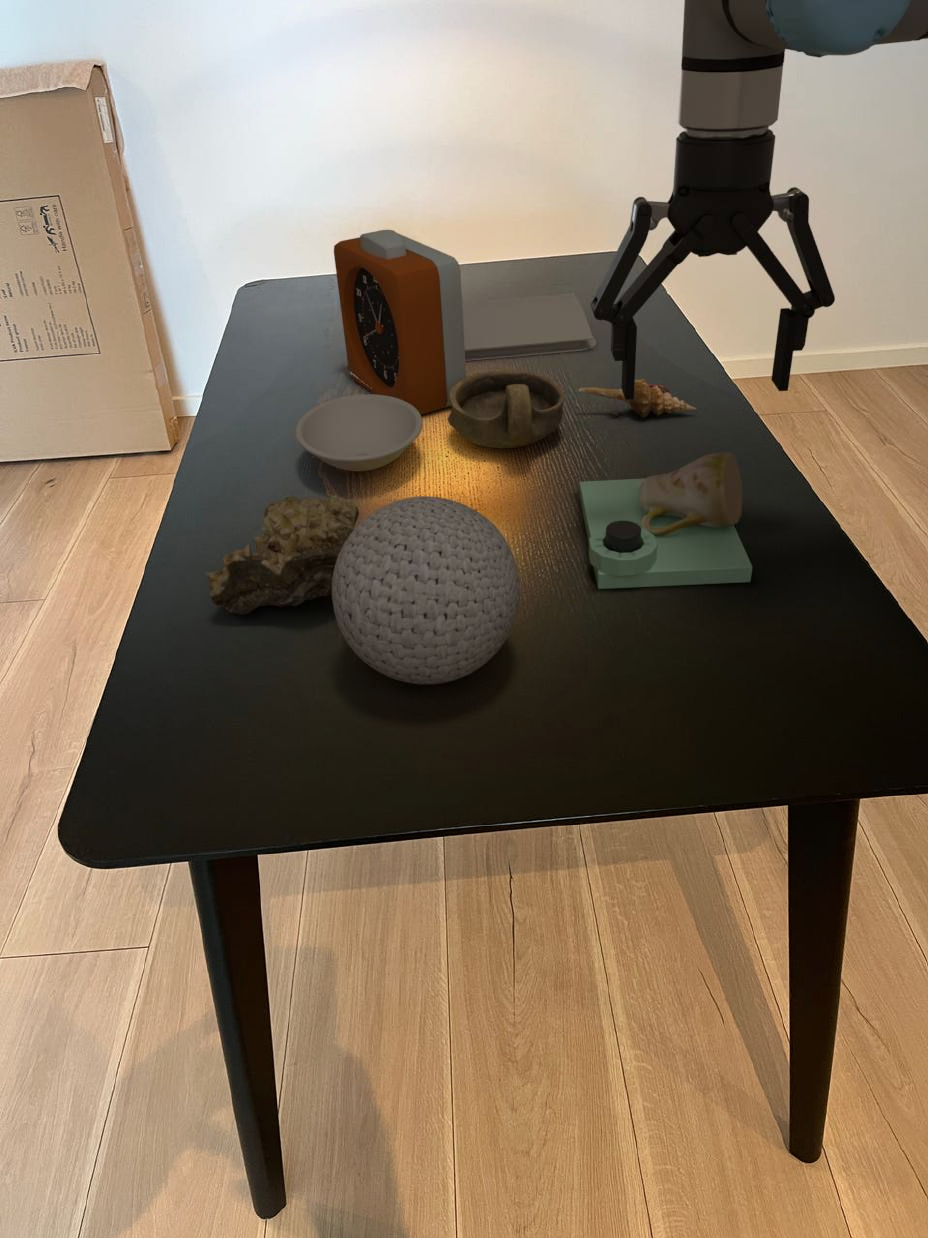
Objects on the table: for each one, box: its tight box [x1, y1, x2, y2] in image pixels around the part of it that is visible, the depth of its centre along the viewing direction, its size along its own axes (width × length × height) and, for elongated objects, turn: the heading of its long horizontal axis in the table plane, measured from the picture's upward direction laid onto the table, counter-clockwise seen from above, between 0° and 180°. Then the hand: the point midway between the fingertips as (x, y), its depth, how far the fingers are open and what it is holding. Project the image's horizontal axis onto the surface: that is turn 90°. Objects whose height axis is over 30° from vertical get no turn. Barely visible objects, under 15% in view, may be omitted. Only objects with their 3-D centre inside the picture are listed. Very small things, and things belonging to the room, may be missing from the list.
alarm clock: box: [333, 229, 467, 416], centre depth 124 cm, size 18×9×21 cm, turn 31°
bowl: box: [447, 369, 565, 449], centre depth 112 cm, size 14×18×10 cm
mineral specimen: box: [204, 495, 360, 616], centre depth 90 cm, size 14×13×10 cm
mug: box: [638, 452, 743, 535], centre depth 94 cm, size 8×10×10 cm
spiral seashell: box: [578, 378, 697, 418], centre depth 119 cm, size 14×5×4 cm, turn 101°
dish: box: [295, 393, 424, 472], centre depth 112 cm, size 18×14×5 cm
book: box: [462, 292, 597, 362], centre depth 143 cm, size 15×23×4 cm, turn 96°
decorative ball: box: [331, 496, 521, 685], centre depth 78 cm, size 15×15×15 cm
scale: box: [578, 477, 753, 590], centre depth 96 cm, size 18×15×4 cm
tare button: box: [605, 521, 641, 553], centre depth 90 cm, size 3×3×2 cm
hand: (703, 389), depth 88 cm, fingers open, 13 cm apart
